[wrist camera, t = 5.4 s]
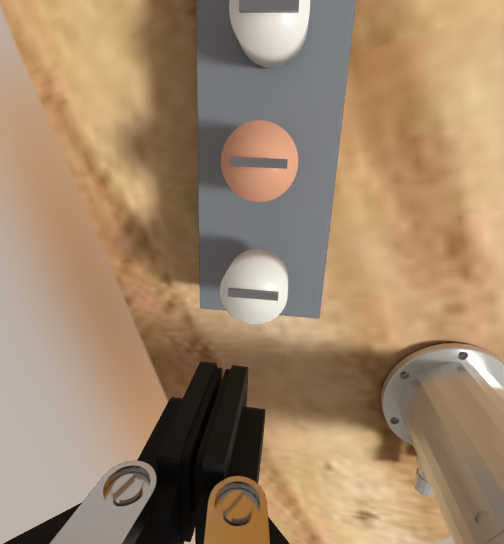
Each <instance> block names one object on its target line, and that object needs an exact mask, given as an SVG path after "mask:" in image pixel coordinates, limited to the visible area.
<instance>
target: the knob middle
mask: <svg viewBox="0 0 504 544" xmlns="http://www.w3.org/2000/svg"><path fill="white" fill-rule="evenodd" d="M221 169H222V173H223V176H224V179H225V181H226V183H227V184H228V186H229V187H230V188H231V190H232V191H233V192H234V193H236V194H237V195H238V196H240V197H242V198H243V199H246V200H249V201H253V202H266V201H270V200H273V199H275V198H277V197H279V196H280V195H282V194H283V193H284V192H285V191H286V190H287V189H288V188H289V187H290V186H291V184H292V182H293V181H294V178H295V176H296V173H297V169H298V153H297V149H296V146H295V143H294V142H293V140H292V138H291V137H290V135H289V134H288V133H287V132H286V131H285V130H284V129H283V128H282V127H280V126H278V125H277V124H275V123H272V122H269V121H263V120H257V121H251V122H248V123H245V124H243V125H241V126H239V127H238V128H237V129H235V130H234V131H233V132H232V133H231V135H230V136H229V137H228V139H227V140H226V142H225V144H224V147H223V150H222V154H221Z"/></svg>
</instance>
